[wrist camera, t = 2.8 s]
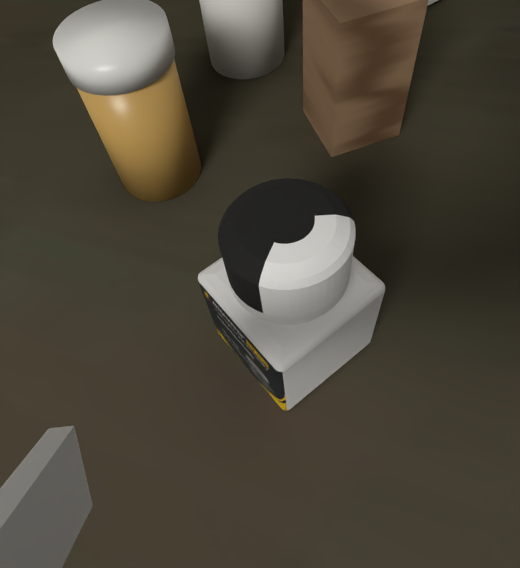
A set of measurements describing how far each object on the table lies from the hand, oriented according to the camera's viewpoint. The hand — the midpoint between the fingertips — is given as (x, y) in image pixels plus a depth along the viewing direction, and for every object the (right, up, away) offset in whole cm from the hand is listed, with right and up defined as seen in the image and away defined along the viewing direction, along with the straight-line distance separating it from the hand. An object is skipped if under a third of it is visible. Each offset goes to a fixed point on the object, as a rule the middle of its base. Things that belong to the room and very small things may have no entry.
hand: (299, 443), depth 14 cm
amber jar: (-9, +14, +25) cm, 30 cm away
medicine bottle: (+1, +1, +17) cm, 17 cm away
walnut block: (+6, +18, +26) cm, 33 cm away
